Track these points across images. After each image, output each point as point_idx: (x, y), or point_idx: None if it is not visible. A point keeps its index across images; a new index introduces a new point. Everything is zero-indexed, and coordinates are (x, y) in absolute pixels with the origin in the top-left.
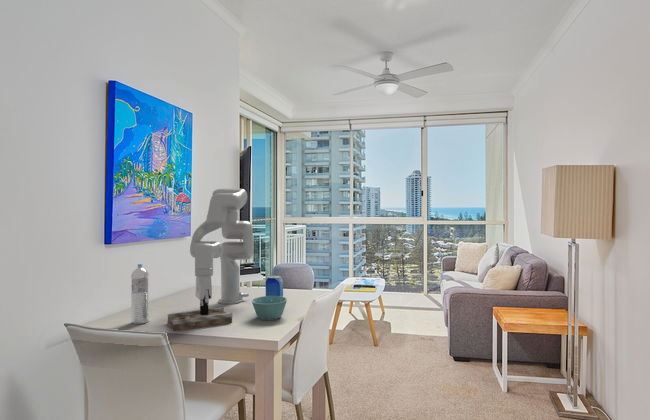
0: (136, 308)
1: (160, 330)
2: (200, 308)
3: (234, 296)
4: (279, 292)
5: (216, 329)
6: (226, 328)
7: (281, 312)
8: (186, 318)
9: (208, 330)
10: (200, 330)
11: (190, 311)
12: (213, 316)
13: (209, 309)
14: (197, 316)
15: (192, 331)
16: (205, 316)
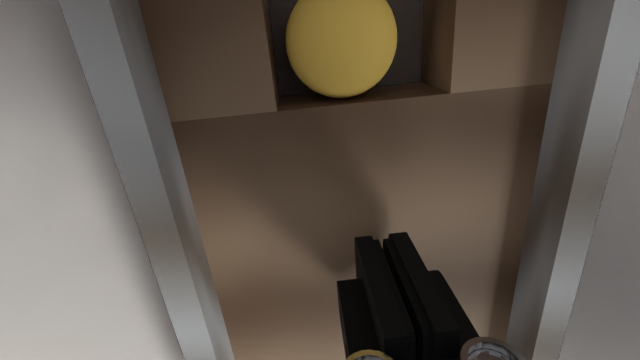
0: None
1: None
2: (417, 293)
3: None
4: None
5: (53, 285)
6: (72, 352)
7: None
8: (321, 16)
9: (27, 220)
10: (40, 149)
11: (605, 123)
12: (187, 352)
13: (533, 348)
14: (420, 186)
15: (7, 57)
16: (173, 281)
